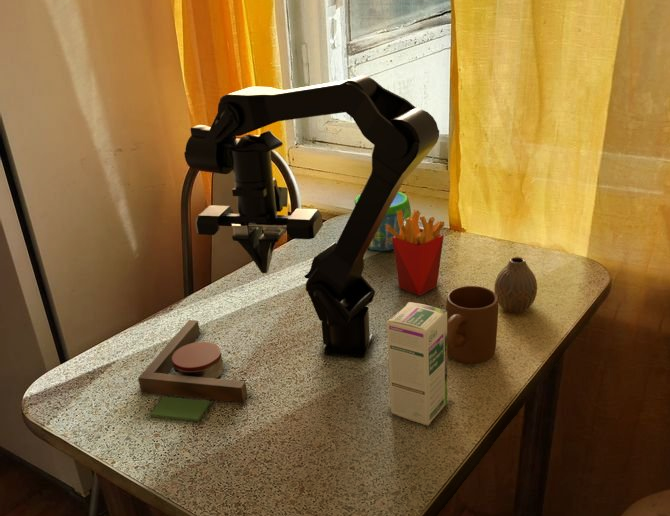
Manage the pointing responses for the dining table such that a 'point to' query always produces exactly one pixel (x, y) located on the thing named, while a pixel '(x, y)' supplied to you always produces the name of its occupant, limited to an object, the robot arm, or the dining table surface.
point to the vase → (516, 286)
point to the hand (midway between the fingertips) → (265, 272)
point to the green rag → (180, 409)
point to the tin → (198, 360)
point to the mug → (471, 324)
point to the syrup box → (418, 362)
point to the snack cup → (390, 223)
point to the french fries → (417, 252)
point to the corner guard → (187, 386)
